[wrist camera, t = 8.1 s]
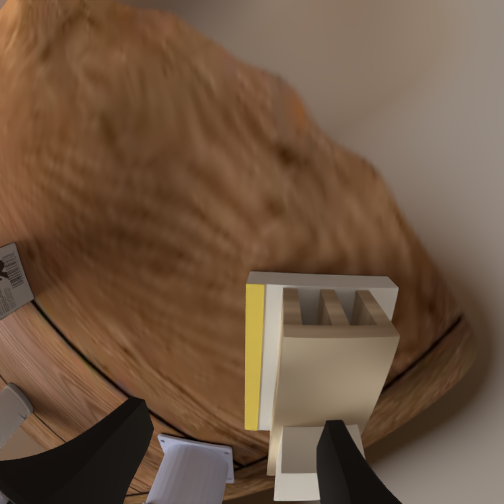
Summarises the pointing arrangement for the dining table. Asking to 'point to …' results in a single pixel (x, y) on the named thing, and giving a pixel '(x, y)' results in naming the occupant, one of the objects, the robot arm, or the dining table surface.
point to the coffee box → (12, 281)
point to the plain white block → (301, 462)
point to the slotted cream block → (329, 364)
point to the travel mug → (12, 411)
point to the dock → (269, 316)
